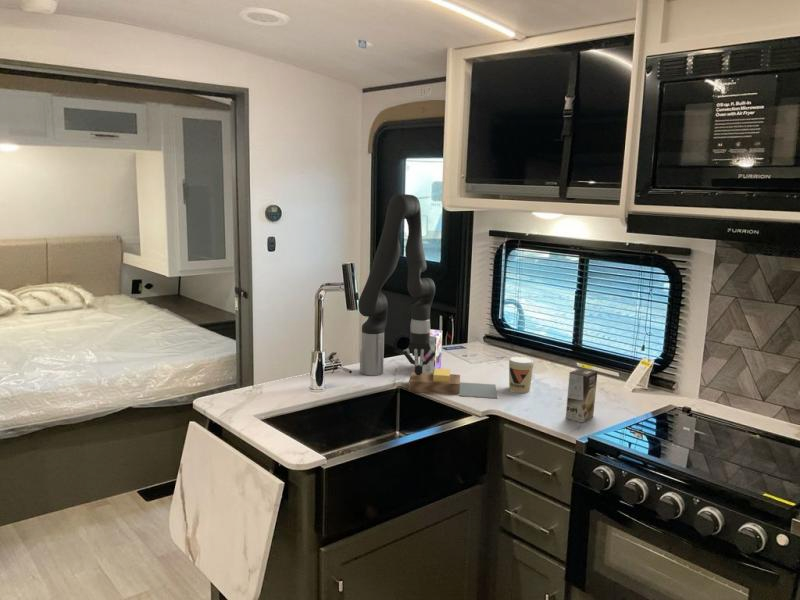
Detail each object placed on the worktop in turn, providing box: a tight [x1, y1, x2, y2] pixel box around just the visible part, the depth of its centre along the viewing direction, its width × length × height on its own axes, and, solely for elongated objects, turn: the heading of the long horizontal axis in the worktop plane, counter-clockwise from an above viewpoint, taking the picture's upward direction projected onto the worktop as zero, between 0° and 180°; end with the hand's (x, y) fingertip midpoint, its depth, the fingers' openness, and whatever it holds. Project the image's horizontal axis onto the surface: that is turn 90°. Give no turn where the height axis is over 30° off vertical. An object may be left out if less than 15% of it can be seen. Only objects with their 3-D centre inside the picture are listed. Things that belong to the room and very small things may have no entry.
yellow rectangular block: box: [433, 367, 451, 382], centre depth 235 cm, size 6×9×2 cm, turn 174°
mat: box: [458, 381, 499, 400], centre depth 235 cm, size 14×16×1 cm
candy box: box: [422, 328, 443, 373], centre depth 258 cm, size 14×6×16 cm, turn 165°
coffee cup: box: [508, 356, 535, 394], centre depth 236 cm, size 9×9×12 cm
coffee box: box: [565, 367, 598, 423], centre depth 208 cm, size 9×6×16 cm
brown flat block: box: [408, 371, 461, 395], centre depth 236 cm, size 19×12×4 cm, turn 84°
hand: (418, 374), depth 236 cm, fingers closed
